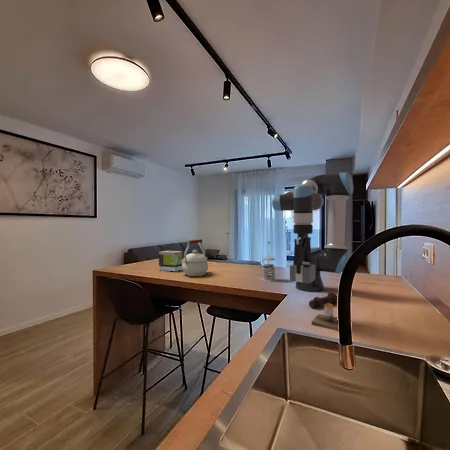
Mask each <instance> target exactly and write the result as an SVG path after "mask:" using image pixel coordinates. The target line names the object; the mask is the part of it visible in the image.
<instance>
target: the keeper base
mask: <svg viewBox="0 0 450 450" xmlns="http://www.w3.org/2000/svg"><path fill="white" fill-rule="evenodd" d="M337 318H338V317H337V316H333V322H326V321H325V320H324V314H320V313H318V314H317V315H316V316H315V317H314V319H313V320H312V321H311V325H312V326H316V327H322V328H326V329H329V330H334V329H335V330H334V331H339V330H338V320H337Z"/></svg>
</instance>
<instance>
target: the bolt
mask: <svg viewBox="0 0 450 450" xmlns="http://www.w3.org/2000/svg"><path fill="white" fill-rule="evenodd" d="M337 297H338V295H337V294H336V293H334V292H328V293H327V295H326V296H322V297H319V296H315V297H314V298H313V299H311V300H309V301H308V306H309V307H310V308H312V309H314V308H318V309H320V308H322V307H324V306H325V304H326V303H331V304H332V305H333V306H334V305H337V304H338V302H337Z"/></svg>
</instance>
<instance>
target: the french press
mask: <svg viewBox="0 0 450 450" xmlns="http://www.w3.org/2000/svg"><path fill="white" fill-rule="evenodd" d="M267 244H268V245H270V244H271V241H267ZM275 260H276V258H274V257H273V256H270V255H268V256H264V257H263V258H262V260H261V261H260V262H259V263H258V265H259V267H258V269H259V270H260V271H261V272H262V278H261V279H260V280H261V281H262V280H263V281H262V282H266V281H268V282H269V283H271V282H277V279H276V277H275V270H276V269H275V265H274V264H272V263H271V264H270V261H275ZM265 261H268V262H267V263H265ZM262 263H263V267H262V266H261V264H262Z"/></svg>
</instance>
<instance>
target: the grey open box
mask: <svg viewBox="0 0 450 450" xmlns="http://www.w3.org/2000/svg"><path fill="white" fill-rule="evenodd" d="M302 265H303V283H311V282H312V281H314V280H315V265H310V264H302ZM289 281H290V282H295V283H296V282H297V281H296V265H293V264H292V265H290V266H289Z"/></svg>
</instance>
